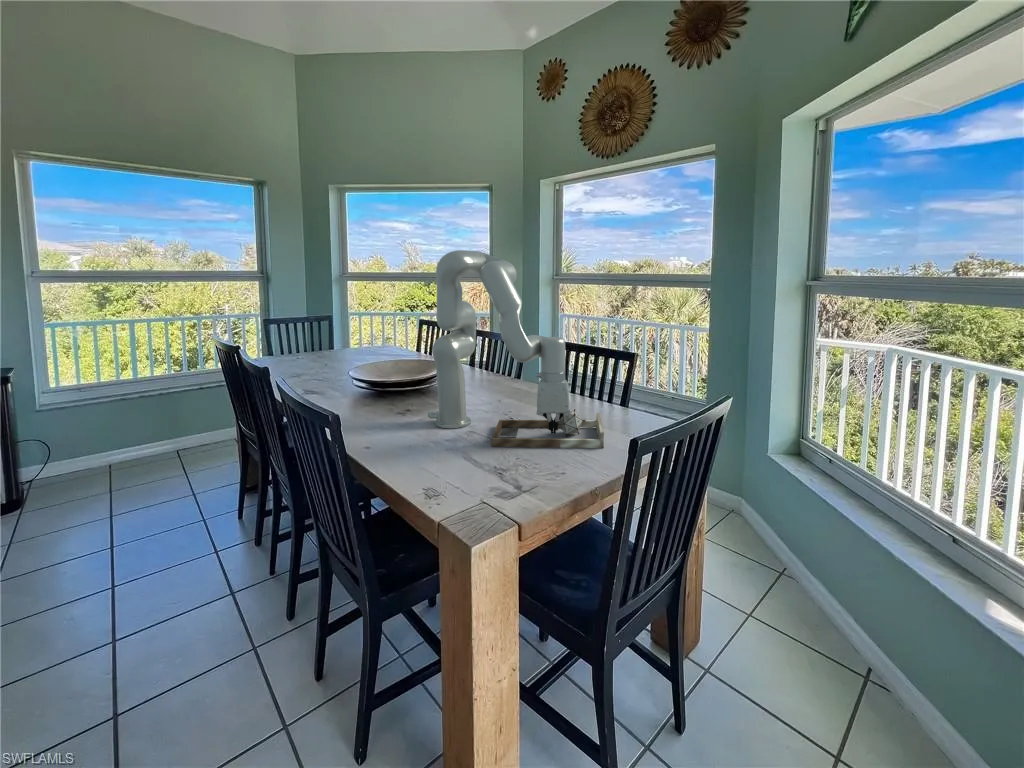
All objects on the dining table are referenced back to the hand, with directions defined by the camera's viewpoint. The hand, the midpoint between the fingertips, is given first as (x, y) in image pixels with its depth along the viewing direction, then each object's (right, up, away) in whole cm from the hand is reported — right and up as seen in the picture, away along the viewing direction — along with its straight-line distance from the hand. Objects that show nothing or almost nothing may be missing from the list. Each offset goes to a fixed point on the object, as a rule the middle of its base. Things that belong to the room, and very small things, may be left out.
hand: (553, 432), depth 161 cm
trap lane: (-2, -1, +1) cm, 2 cm away
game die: (+6, -1, +2) cm, 6 cm away
